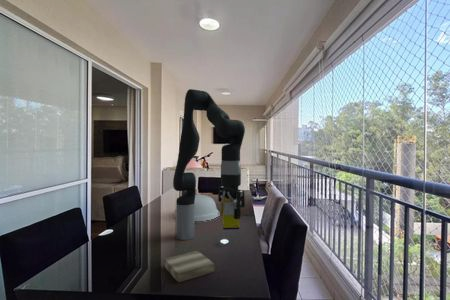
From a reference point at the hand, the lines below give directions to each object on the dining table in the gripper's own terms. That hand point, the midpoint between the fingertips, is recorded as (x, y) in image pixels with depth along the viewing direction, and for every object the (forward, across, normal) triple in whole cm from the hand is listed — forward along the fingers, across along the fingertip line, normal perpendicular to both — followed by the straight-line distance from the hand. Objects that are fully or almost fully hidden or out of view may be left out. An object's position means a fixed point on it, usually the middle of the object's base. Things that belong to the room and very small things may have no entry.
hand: (230, 216), depth 93 cm
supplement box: (+4, 0, 0) cm, 4 cm away
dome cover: (+21, -77, +24) cm, 83 cm away
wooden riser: (+20, -9, -13) cm, 25 cm away
